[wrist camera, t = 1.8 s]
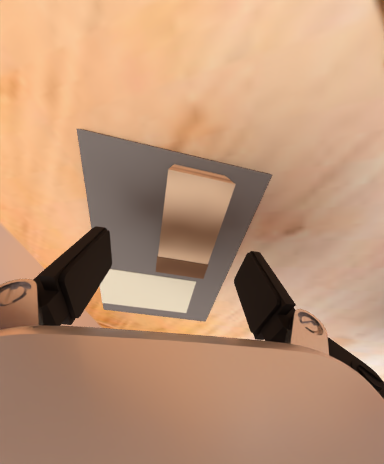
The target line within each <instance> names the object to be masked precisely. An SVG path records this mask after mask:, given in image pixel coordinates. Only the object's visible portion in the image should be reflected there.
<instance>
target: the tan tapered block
mask: <svg viewBox="0 0 384 464" xmlns="http://www.w3.org/2000/svg"><path fill="white" fill-rule="evenodd" d="M235 185H236V184H235V183H233V182H232V181H231V180H230V179H229V178H227V177H226V176H225V175H220V174H216V173H212V172H207V171H203V170H199V169H194V168H190V167H185V166H181V165H177V164H174V165H173V166H171V167H170V168H169V169H168V176H167V185H166V193H165V201H164V210H163V218H162V226H161V235H160V243H159V251H158V256H157V263H156V271H155V272H160V273H166V274H173V275H180V276H186V277H193V278H200V279H204V276H205V273H206V270H207V267H208V262H209V259H210V256H211V254H212V251H213V248H214V245H215V242H216V239H217V236H218V234H219V231H220V228H221V225H222V222H223V219H224V216H225V213H226V211H227V208H228V205H229V202H230V199H231V196H232V193H233V191H234V188H235Z"/></svg>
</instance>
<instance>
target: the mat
mask: <svg viewBox="0 0 384 464" xmlns="http://www.w3.org/2000/svg"><path fill="white" fill-rule="evenodd" d="M77 134H78V141H79V147H80V154H81V161H82V167H83V174H84V181H85V187H86V194H87V201H88V207H89V214H90V221H91V227H92V228H94V227H95V226H98V227H104V228H106V229H107V230H109V232H110V241H111V253H112V266H111V268H110V270H109V271H108V273H107V275H106V276H105V278H104V279H103V281H102V282H101V284H100V290H101V297H102V303H103V307H104V310H113V311H121V312H129V313H138V314H146V315H155V316H163V317H172V318H180V319H188V320H197V321H206V319H207V317H208V315H209V313H210V310H211V308H212V306H213V304H214V302H215V299H216V297H217V295H218V293H219V291H220V289H221V286H222V284H223V282H224V280H225V278H226V275H227V273H228V271H229V269H230V267H231V264H232V262H233V260H234V258H235V256H236V253H237V251H238V249H239V247H240V245H241V243H242V240H243V238H244V236H245V234H246V232H247V229H248V227H249V225H250V223H251V221H252V218H253V216H254V214H255V212H256V210H257V207H258V205H259V203H260V201H261V199H262V197H263V194H264V192H265V190H266V188H267V186H268V183H269V181H270V179H271V177H272V175H271V174H267V173H263V172H259V171H255V170H250V169H246V168H242V167H238V166H234V165H229V164H225V163H221V162H217V161H212V160H208V159H204V158H200V157H196V156H191V155H187V154H183V153H179V152H175V151H170V150H166V149H162V148H158V147H154V146H149V145H145V144H141V143H137V142H132V141H128V140H124V139H120V138H116V137H111V136H107V135H103V134H99V133H95V132H90V131H86V130H82V129H77ZM174 164H177V165H181V166H185V167H190V168H194V169H199V170H203V171H207V172H212V173H216V174H220V175H225V176H226V177H227V178H229V179H230V180H231V181H232V182H233V183H235V184H236V185H235V188H234V191H233V193H232V196H231V199H230V202H229V205H228V208H227V211H226V213H225V216H224V219H223V222H222V225H221V228H220V231H219V234H218V236H217V239H216V242H215V245H214V248H213V251H212V254H211V256H210V259H209V262H208V267H207V270H206V273H205V276H204V279H200V278H193V277H186V276H180V275H173V274H166V273H160V272H155V271H156V263H157V256H158V251H159V243H160V235H161V226H162V218H163V210H164V201H165V193H166V185H167V176H168V169H169V168H170V167H171V166H173V165H174Z"/></svg>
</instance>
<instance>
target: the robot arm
mask: <svg viewBox="0 0 384 464" xmlns="http://www.w3.org/2000/svg"><path fill="white" fill-rule="evenodd" d="M111 266H112V253H111V241H110V232H109V230H107V229H106V228H104V227H98V226H95V227H94V228H92V229H91V230H90V231H89V232H88V233H87V234H85V235H84V236H83V237H82V238H81V239H80V240H78V241H77V242H76V243H75V244H74V245H73V246H71V247H70V248H69V249H68V250H67V251H66V252H64V253H63V254H62V255H61V256H60V257H59V258H58V259H56V260H55V261H54V262H53V263H52V264H51V265H49V266H48V267H47V268H46V269H45V270H44V271H42V272H41V273H40V274H39V275H38V276H37V277H36V278H35V279H34V280H31V279H17V280H12V281H9V282H6V283H3V284H1V285H0V464H384V382H383V381H382V380H381V378H380V377H379V376H378V374H377V373H376V372H375V371H373V370H372V369H371V368H370V367H369V366H367V365H366V364H365V363H364V362H362V361H361V360H359V359H358V358H356V357H355V356H354V355H352V354H351V353H349V352H348V351H347V350H345V349H344V348H342V347H341V346H340V345H338V344H337V343H335V342H334V341H333V340H331V339H330V338H328V337H327V332H326V329H325V327H324V325H323V324H322V323H321V322H320V321H319V320H318V319H317V318H316V317H315V316H314V315H312V314H311V313H309V312H308V311H306V310H302V309H297V310H295V309H294V306H295V305H296V304H295V303H294V301H293V300H292V299H291V297H290V296H289V294H288V293H287V291H286V290H285V288H284V287H283V285H282V284H281V282H280V281H279V280H278V278H277V277H276V275H275V274H274V272H273V271H272V269H271V268H270V266H269V265H268V263H267V262H266V261H265V259H264V258H263V256H262V255H261V253H259V252H254V251H251V252H250V253H247V255H246V257H245V259H244V261H243V263H242V265H241V267H240V269H239V271H238V273H237V275H236V277H235V279H234V284H235V287H236V290H237V293H238V296H239V299H240V302H241V305H242V308H243V311H244V313H245V316H246V319H247V322H248V325H249V328H250V331H251V332H252V333H253V334H254V337H255V339H259V340H249V339H238V338H226V337H214V336H201V335H188V334H175V333H162V332H149V331H135V330H122V329H108V328H93V327H73V326H60V325H61V324H67V325H71V324H72V323H73V321H74V320H75V318H79V317H80V316H81V314H82V312H83V311H84V309H85V308H86V306H87V305H88V303H89V301H90V300H91V298H92V297H93V295H94V294H95V292H96V290H97V289H98V287H99V286H100V284H101V282H102V281H103V279H104V278H105V276H106V275H107V273H108V271H109V270H110V268H111ZM264 339H265V341H261V340H264Z"/></svg>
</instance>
